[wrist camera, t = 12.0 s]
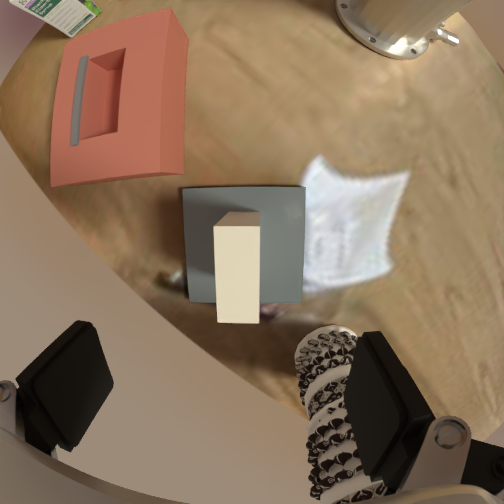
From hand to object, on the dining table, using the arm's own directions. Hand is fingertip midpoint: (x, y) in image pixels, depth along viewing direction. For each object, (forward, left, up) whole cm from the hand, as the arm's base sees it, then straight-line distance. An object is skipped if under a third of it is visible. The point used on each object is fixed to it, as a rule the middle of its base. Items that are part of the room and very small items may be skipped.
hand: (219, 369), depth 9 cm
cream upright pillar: (0, 0, -19) cm, 19 cm away
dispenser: (+12, -15, -20) cm, 28 cm away
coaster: (0, 0, -20) cm, 20 cm away
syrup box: (+23, -33, -20) cm, 45 cm away
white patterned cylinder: (-10, +14, -20) cm, 26 cm away
